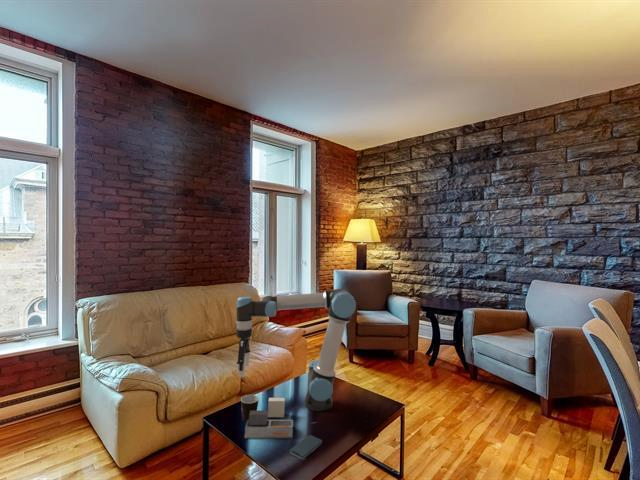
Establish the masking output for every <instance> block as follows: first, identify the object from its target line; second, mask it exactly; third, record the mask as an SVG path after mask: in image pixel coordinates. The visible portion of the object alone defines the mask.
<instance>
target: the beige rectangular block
mask: <svg viewBox="0 0 640 480" xmlns="http://www.w3.org/2000/svg"><path fill="white" fill-rule="evenodd" d="M285 401H286V399H285V397H268V405H267V411H268V418H284V417H285V407H286V406H285V405H286V404H285V403H286V402H285Z"/></svg>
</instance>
